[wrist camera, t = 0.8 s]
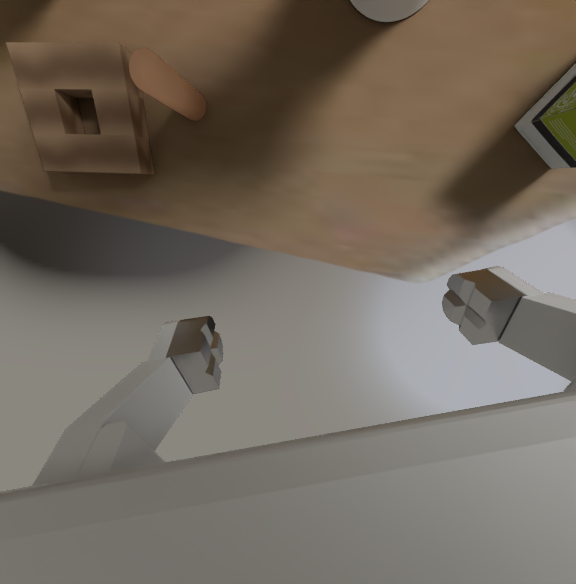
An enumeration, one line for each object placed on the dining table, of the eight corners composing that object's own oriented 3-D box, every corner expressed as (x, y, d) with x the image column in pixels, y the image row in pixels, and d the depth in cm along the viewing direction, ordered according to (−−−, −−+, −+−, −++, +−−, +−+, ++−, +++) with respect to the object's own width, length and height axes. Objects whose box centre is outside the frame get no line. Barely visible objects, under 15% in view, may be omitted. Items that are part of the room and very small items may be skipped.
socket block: (33, 56, 39) (5, 42, 35) (136, 56, 38) (118, 42, 35) (65, 172, 45) (43, 170, 41) (154, 174, 44) (140, 173, 41)
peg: (179, 90, 40) (125, 47, 28) (205, 90, 40) (162, 47, 28) (182, 120, 41) (132, 92, 29) (207, 121, 41) (167, 93, 29)
